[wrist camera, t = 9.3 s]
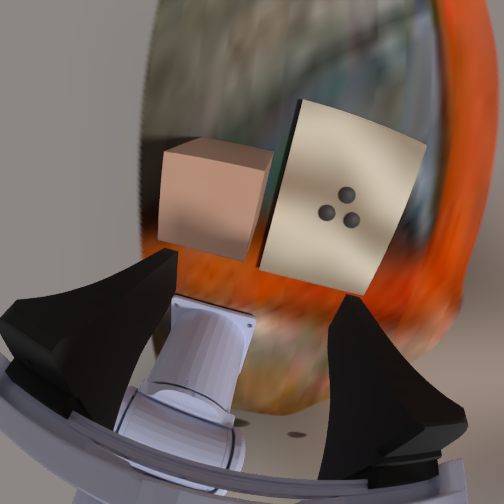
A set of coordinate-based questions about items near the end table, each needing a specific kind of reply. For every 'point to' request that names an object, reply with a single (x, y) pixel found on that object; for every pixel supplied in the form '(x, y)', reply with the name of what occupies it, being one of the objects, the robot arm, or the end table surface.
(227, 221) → the salmon cube
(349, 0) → the end table surface
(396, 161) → the birch board
